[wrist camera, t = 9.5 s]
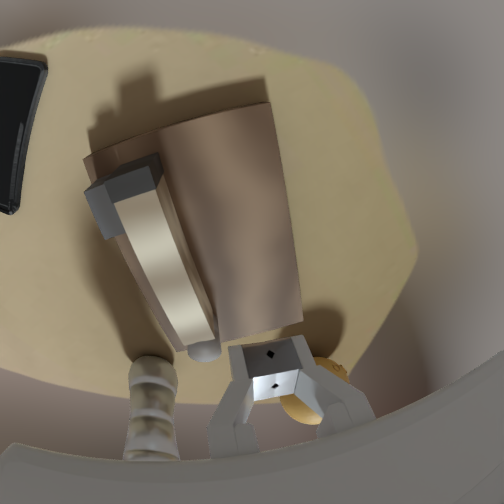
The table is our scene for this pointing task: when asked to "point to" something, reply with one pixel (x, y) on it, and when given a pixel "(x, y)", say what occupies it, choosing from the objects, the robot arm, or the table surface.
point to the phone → (17, 123)
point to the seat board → (217, 216)
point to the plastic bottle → (151, 411)
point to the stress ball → (298, 407)
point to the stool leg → (164, 253)
